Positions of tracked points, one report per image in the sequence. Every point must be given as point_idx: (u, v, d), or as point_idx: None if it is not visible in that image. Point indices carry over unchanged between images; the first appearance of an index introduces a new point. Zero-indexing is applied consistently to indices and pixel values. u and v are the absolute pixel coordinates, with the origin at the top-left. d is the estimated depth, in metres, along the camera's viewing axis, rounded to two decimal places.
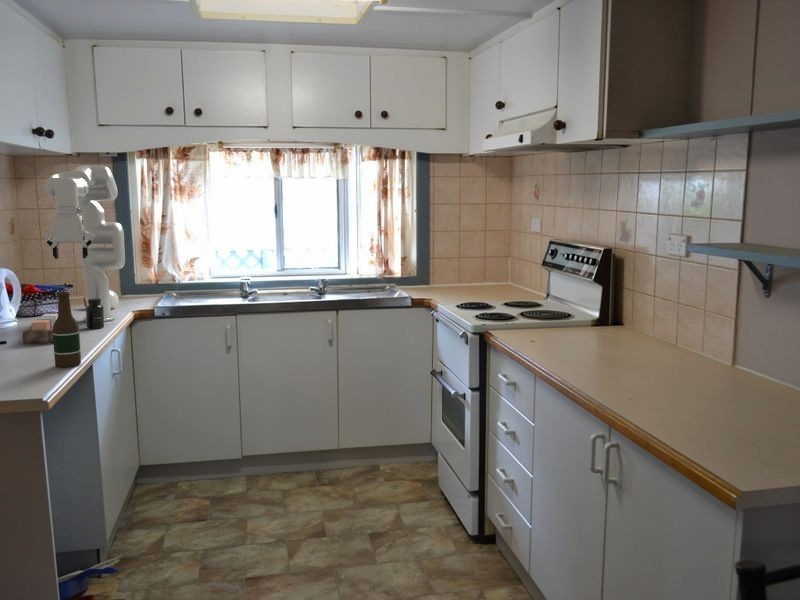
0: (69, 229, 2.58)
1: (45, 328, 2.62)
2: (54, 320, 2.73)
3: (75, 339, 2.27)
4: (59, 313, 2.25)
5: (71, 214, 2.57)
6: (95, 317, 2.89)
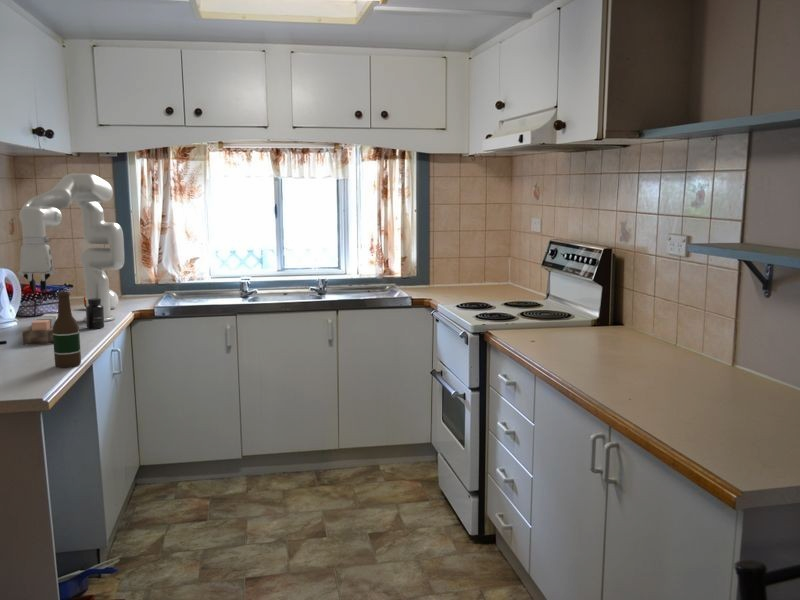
0: (36, 259, 2.57)
1: (45, 328, 2.62)
2: (54, 320, 2.73)
3: (75, 339, 2.27)
4: (59, 313, 2.25)
5: (38, 244, 2.56)
6: (95, 317, 2.89)
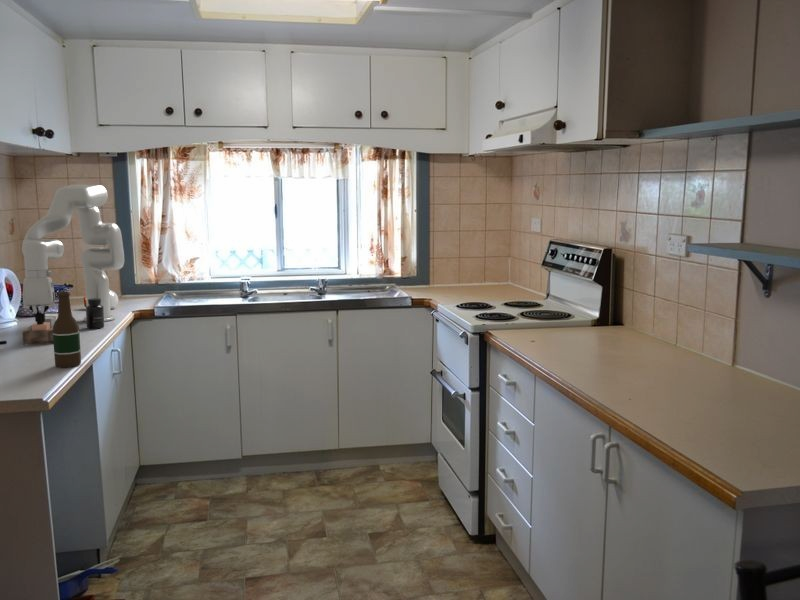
0: (38, 292, 2.59)
1: None
2: (54, 320, 2.73)
3: (75, 339, 2.27)
4: (59, 313, 2.25)
5: (40, 277, 2.58)
6: (95, 317, 2.89)
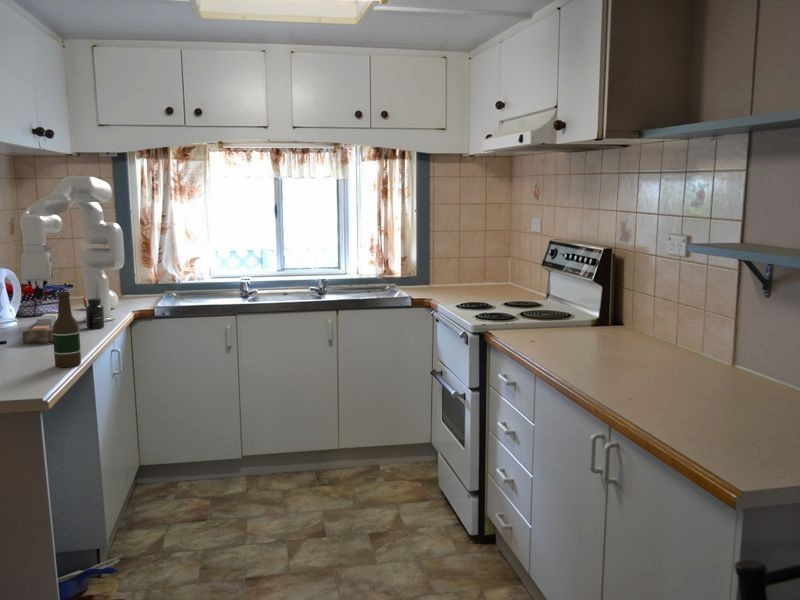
0: (37, 266, 2.58)
1: None
2: (54, 320, 2.73)
3: (75, 339, 2.27)
4: (59, 313, 2.25)
5: (38, 252, 2.57)
6: (95, 317, 2.89)
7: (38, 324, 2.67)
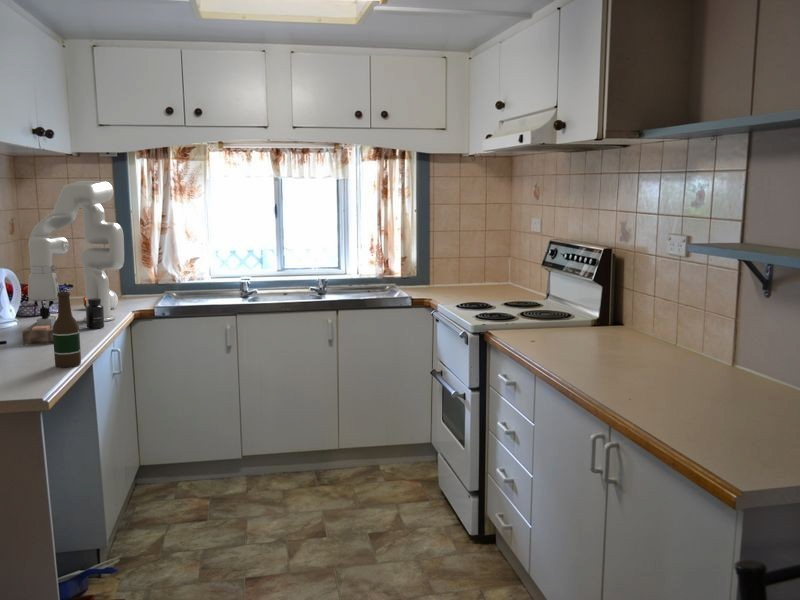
0: (43, 287, 2.66)
1: None
2: (54, 320, 2.73)
3: (75, 339, 2.27)
4: (59, 313, 2.25)
5: (45, 273, 2.65)
6: (95, 317, 2.89)
7: (38, 324, 2.67)
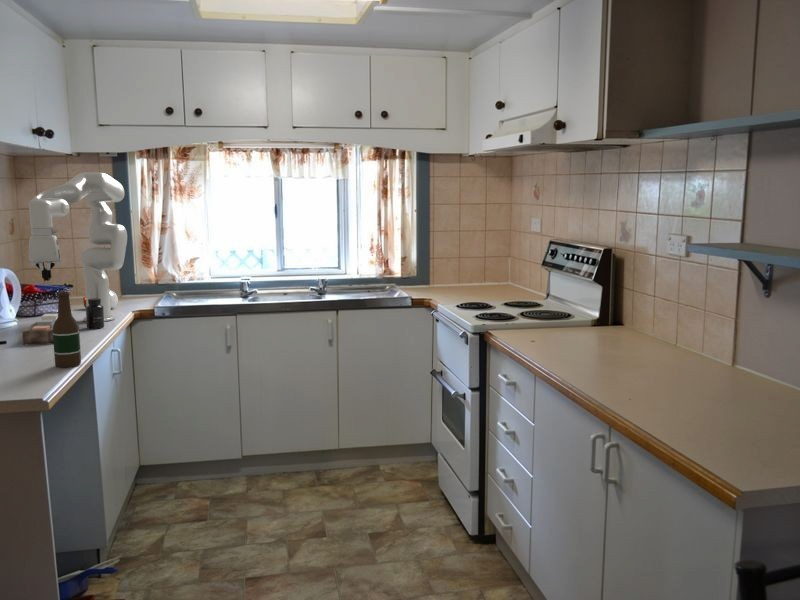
0: (44, 249, 2.68)
1: None
2: None
3: (75, 339, 2.27)
4: (59, 313, 2.25)
5: (46, 235, 2.67)
6: (95, 317, 2.89)
7: None
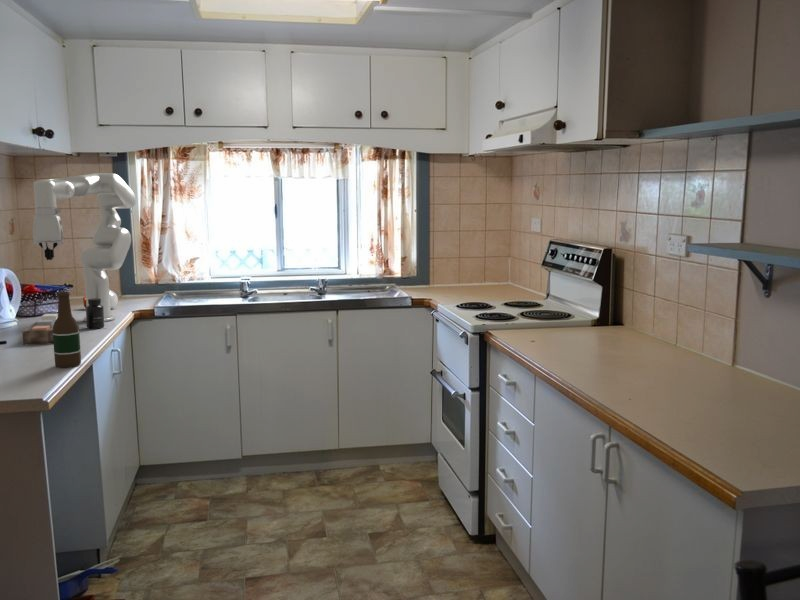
0: (48, 228, 2.74)
1: None
2: None
3: (75, 339, 2.27)
4: (59, 313, 2.25)
5: (49, 215, 2.73)
6: (95, 317, 2.89)
7: None
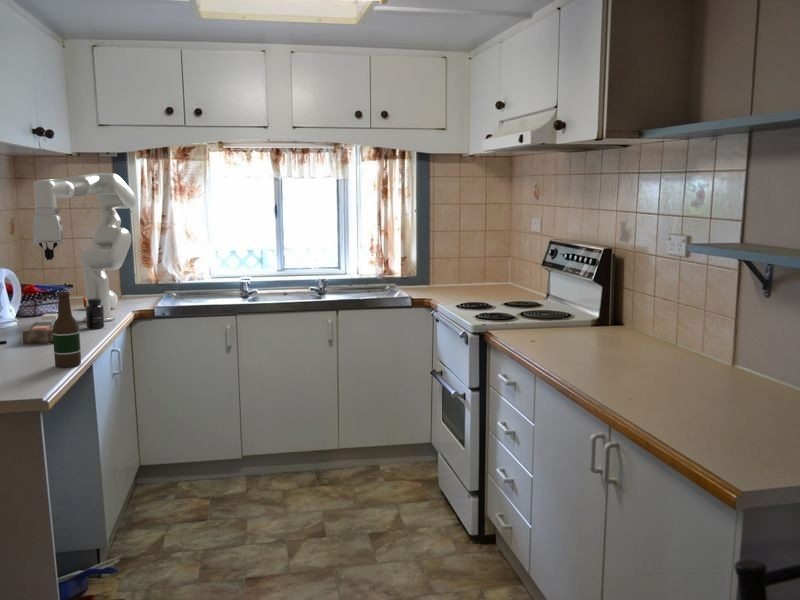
0: (48, 228, 2.74)
1: None
2: None
3: (75, 339, 2.27)
4: (59, 313, 2.25)
5: (49, 215, 2.73)
6: (95, 317, 2.89)
7: None
